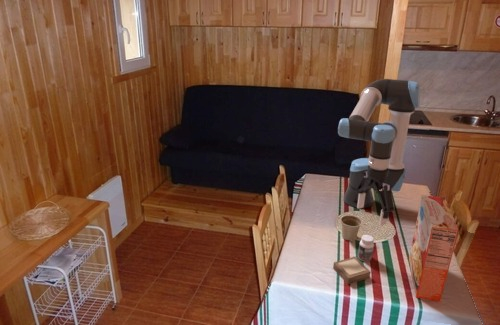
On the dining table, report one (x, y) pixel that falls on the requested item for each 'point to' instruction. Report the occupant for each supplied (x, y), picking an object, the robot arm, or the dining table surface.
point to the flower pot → (350, 226)
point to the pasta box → (432, 247)
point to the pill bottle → (366, 248)
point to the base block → (351, 270)
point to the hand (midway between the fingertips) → (370, 215)
